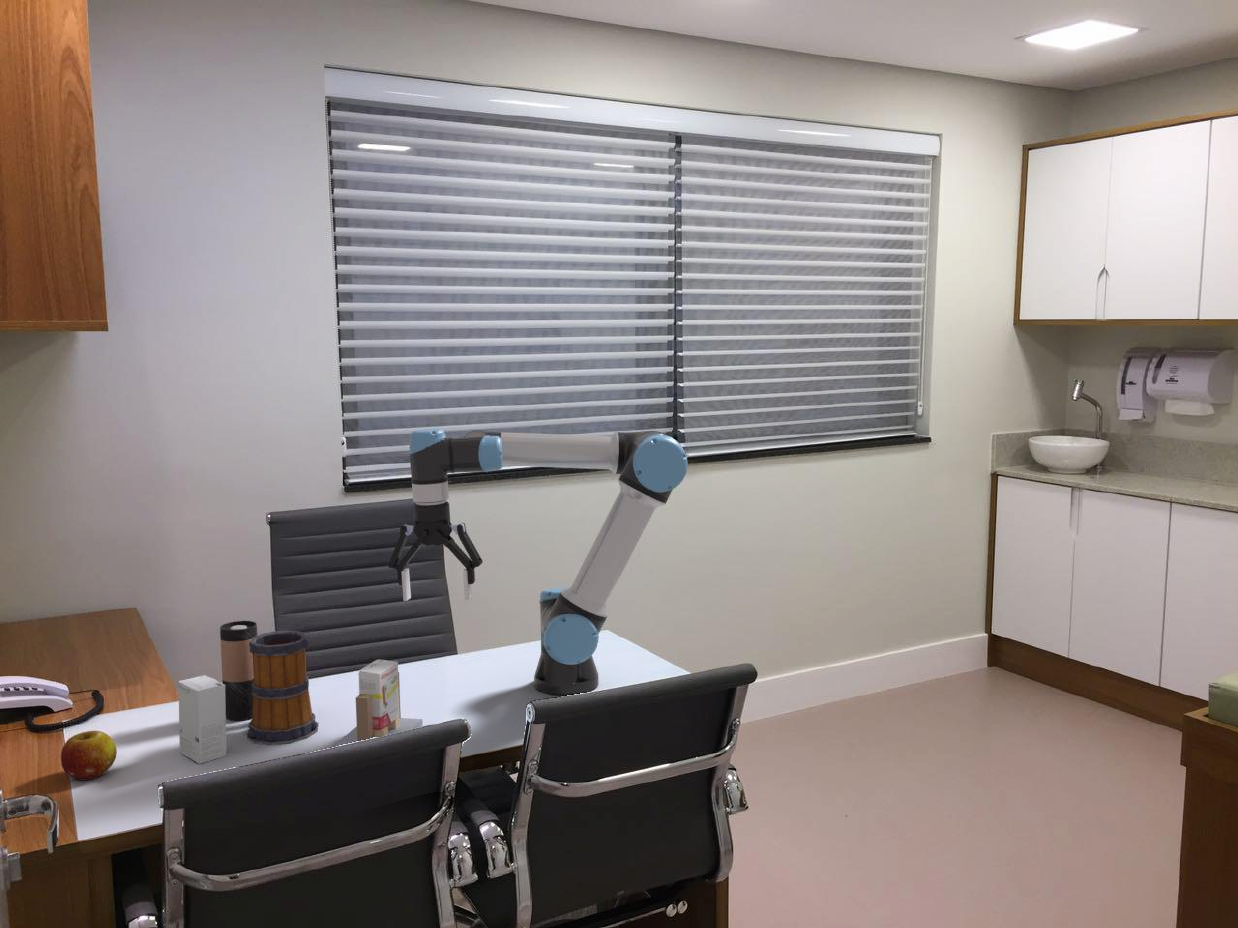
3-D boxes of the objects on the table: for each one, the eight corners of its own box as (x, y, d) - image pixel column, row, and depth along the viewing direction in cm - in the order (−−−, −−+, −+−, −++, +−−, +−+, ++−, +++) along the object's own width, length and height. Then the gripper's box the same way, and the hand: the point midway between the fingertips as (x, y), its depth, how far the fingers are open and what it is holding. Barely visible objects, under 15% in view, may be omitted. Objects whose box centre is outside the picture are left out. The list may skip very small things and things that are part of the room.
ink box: (381, 731, 202) (379, 673, 201) (358, 728, 203) (356, 671, 202) (401, 715, 210) (399, 660, 209) (379, 713, 212) (377, 658, 210)
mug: (270, 710, 224) (265, 621, 222) (335, 710, 223) (331, 621, 221) (234, 745, 205) (229, 648, 202) (305, 745, 204) (301, 648, 202)
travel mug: (269, 710, 224) (264, 622, 221) (245, 723, 216) (241, 631, 214) (240, 707, 226) (235, 619, 224) (216, 719, 219) (211, 628, 217)
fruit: (50, 780, 189) (46, 739, 188) (90, 761, 197) (88, 722, 196) (88, 788, 185) (85, 746, 184) (128, 769, 194) (126, 728, 193)
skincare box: (179, 754, 200) (174, 681, 199) (208, 744, 205) (204, 673, 203) (200, 765, 195) (196, 690, 193) (230, 755, 200) (225, 681, 198)
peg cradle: (422, 725, 214) (420, 673, 213) (392, 756, 198) (390, 699, 197) (368, 722, 216) (366, 670, 215) (334, 752, 201) (332, 696, 199)
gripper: (492, 497, 219) (498, 593, 222) (381, 500, 223) (388, 595, 225) (483, 503, 212) (489, 603, 214) (368, 506, 215) (375, 604, 218)
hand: (437, 599), depth 220 cm, fingers open, 13 cm apart
